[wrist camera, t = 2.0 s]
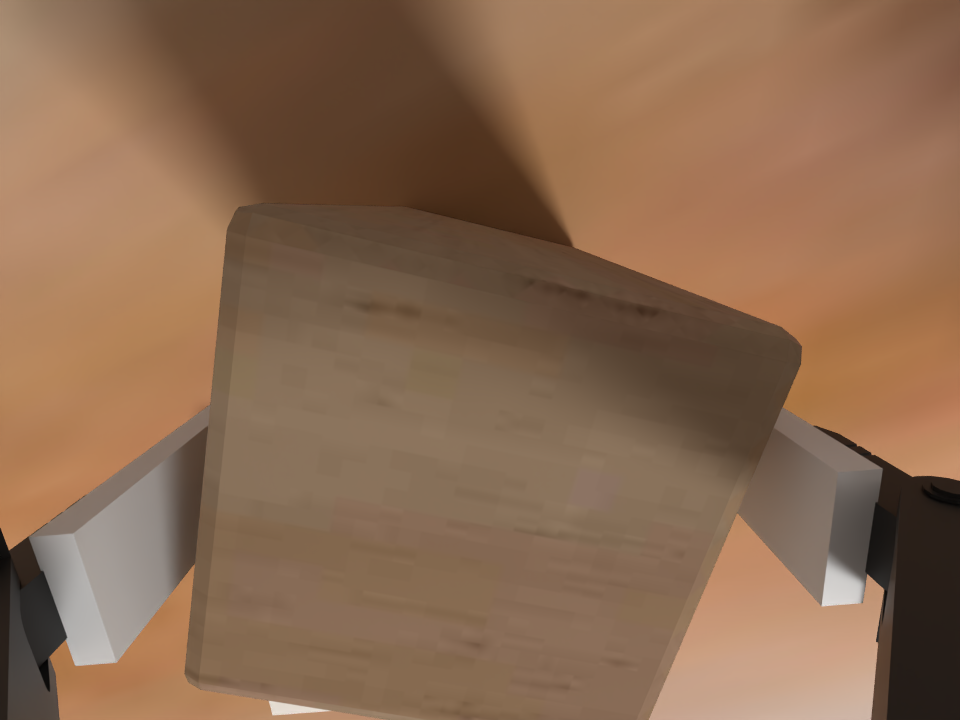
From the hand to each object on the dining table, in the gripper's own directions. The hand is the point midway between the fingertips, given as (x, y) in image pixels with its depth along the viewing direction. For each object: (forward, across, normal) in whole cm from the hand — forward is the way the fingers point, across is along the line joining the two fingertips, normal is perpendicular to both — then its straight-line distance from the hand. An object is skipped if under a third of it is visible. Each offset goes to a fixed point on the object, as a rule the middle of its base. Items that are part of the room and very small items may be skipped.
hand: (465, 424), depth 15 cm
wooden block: (+14, 0, 0) cm, 14 cm away
